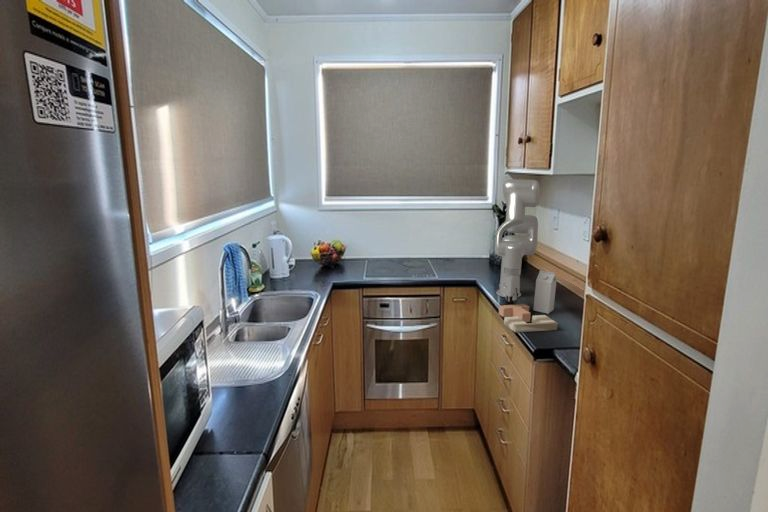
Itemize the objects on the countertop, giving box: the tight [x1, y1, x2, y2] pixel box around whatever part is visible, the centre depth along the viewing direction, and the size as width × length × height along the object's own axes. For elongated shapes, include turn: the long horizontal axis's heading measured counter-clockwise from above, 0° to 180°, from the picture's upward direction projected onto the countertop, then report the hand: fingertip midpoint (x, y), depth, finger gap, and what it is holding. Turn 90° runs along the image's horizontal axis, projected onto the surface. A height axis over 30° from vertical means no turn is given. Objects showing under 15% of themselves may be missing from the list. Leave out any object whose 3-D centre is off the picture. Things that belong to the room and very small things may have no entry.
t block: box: [498, 303, 532, 323], centre depth 196 cm, size 12×13×4 cm
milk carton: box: [533, 269, 558, 314], centre depth 204 cm, size 7×7×19 cm
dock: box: [503, 314, 559, 333], centre depth 185 cm, size 10×19×3 cm, turn 101°
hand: (509, 309), depth 204 cm, fingers closed
